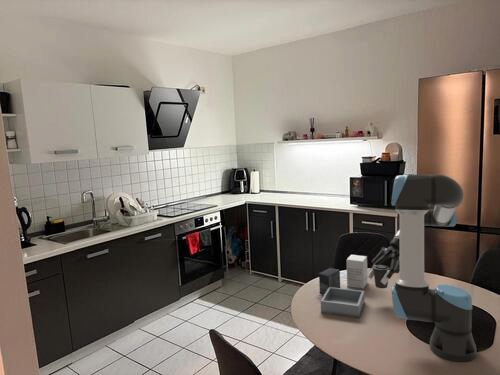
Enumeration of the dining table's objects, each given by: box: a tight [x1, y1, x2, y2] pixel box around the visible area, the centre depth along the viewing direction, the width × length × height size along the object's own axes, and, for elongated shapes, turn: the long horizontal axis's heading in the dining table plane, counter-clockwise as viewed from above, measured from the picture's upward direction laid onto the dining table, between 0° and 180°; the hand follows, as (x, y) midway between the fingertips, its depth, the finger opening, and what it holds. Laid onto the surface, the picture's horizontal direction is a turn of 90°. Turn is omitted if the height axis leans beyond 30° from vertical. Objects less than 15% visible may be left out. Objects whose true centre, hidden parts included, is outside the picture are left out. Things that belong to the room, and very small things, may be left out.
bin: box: [320, 287, 365, 319], centre depth 178 cm, size 17×17×6 cm
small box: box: [318, 267, 341, 295], centre depth 197 cm, size 11×6×10 cm, turn 135°
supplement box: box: [346, 254, 369, 289], centre depth 203 cm, size 9×9×15 cm
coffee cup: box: [371, 264, 391, 289], centre depth 180 cm, size 8×8×10 cm
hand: (375, 280), depth 179 cm, fingers closed on coffee cup, 8 cm apart
